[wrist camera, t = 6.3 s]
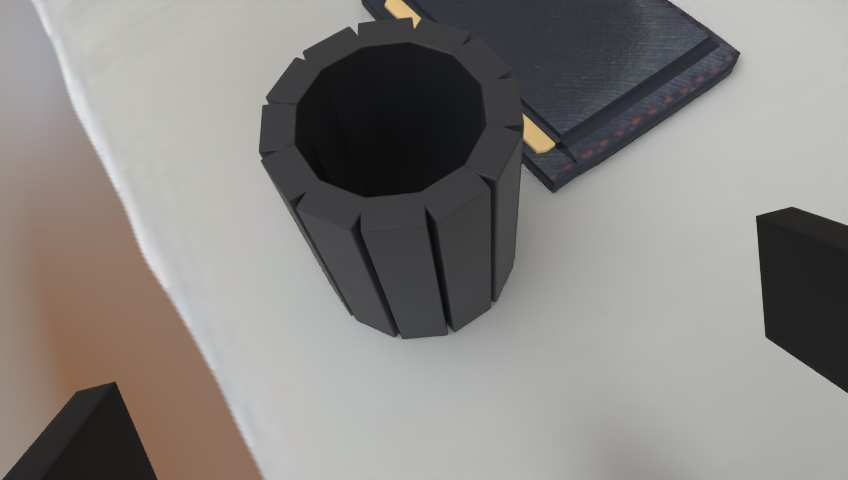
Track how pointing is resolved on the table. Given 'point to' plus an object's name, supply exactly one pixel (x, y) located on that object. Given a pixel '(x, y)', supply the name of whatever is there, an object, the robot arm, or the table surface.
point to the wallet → (585, 68)
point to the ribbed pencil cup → (401, 170)
